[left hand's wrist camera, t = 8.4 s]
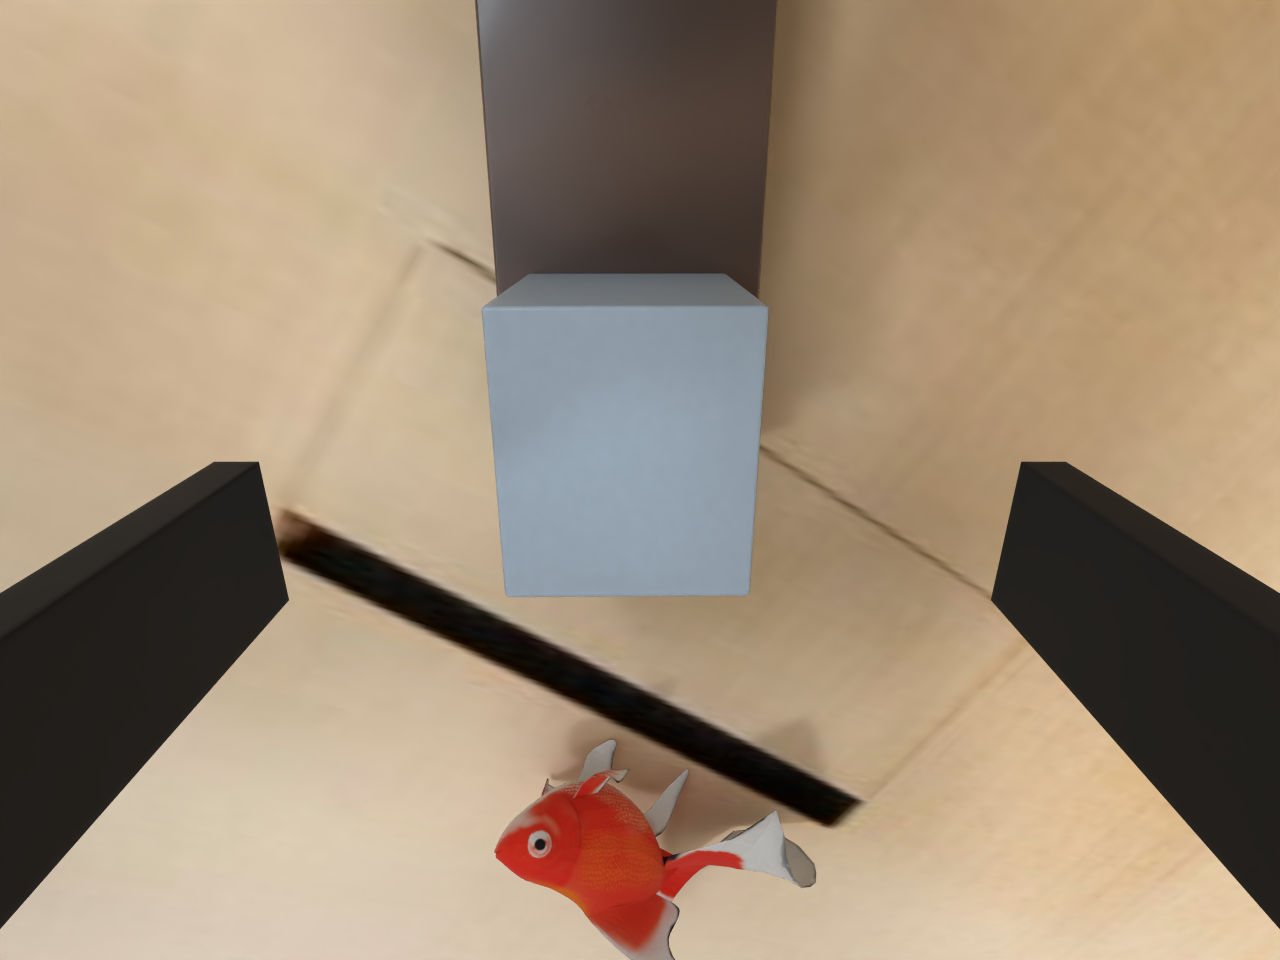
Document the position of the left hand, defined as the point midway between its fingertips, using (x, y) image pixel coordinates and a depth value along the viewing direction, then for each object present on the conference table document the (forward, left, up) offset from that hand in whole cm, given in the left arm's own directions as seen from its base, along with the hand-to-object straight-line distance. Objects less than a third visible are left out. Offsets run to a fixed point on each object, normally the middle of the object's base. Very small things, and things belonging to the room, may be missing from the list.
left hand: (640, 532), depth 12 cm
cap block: (0, 0, -11) cm, 11 cm away
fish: (-7, -22, -17) cm, 28 cm away
